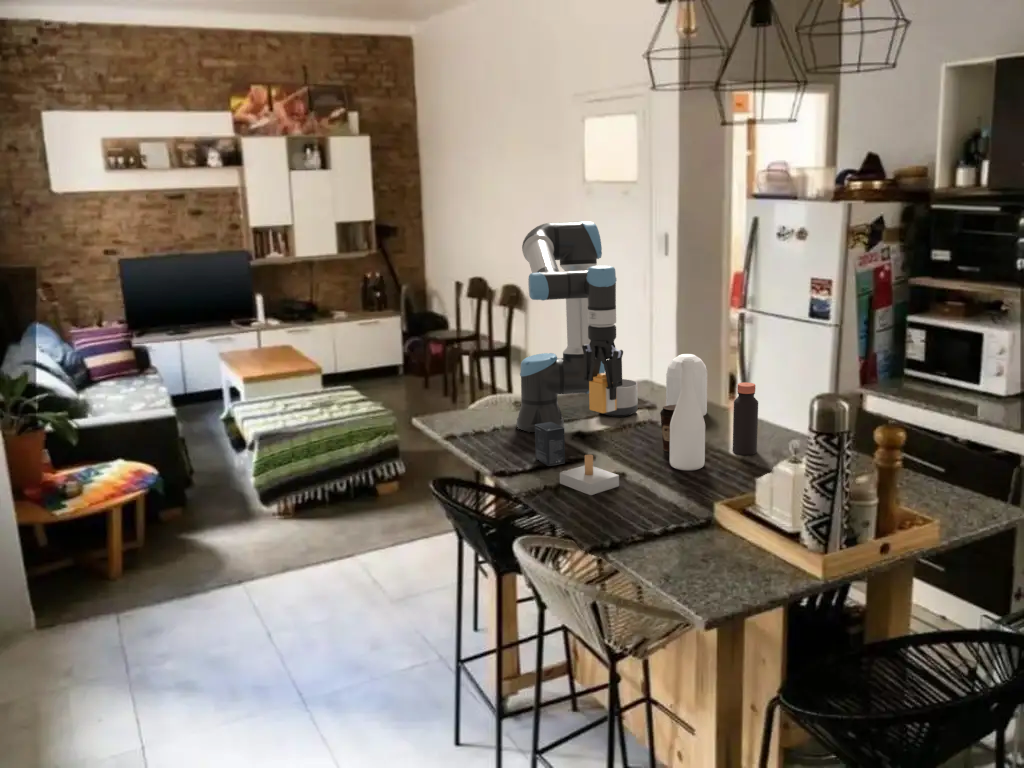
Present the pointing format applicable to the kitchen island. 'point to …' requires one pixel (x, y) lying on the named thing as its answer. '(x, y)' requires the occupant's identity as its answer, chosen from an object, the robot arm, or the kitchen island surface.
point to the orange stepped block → (599, 393)
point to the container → (676, 381)
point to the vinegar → (745, 420)
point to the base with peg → (589, 478)
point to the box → (550, 443)
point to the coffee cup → (666, 425)
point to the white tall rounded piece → (687, 425)
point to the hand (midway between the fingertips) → (603, 408)
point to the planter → (626, 399)
